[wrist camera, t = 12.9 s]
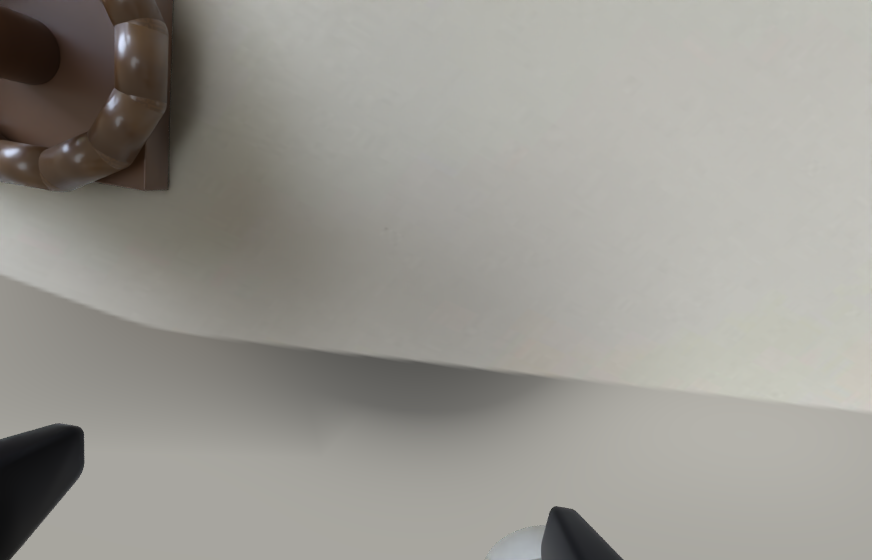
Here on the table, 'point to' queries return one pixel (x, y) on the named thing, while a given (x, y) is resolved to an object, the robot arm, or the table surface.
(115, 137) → the ring
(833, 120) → the table surface
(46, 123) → the post
